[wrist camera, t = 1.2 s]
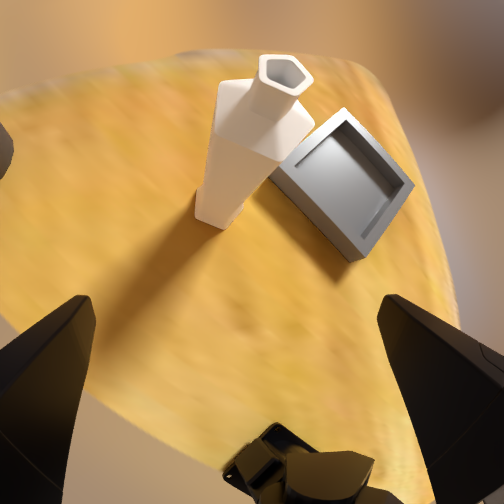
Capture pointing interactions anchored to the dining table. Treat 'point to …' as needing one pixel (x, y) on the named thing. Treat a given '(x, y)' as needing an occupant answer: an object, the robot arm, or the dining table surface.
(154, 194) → the dining table surface
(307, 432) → the dining table surface
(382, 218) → the gray tray
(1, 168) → the candle holder
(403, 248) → the dining table surface
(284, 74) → the perfume bottle
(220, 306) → the dining table surface
